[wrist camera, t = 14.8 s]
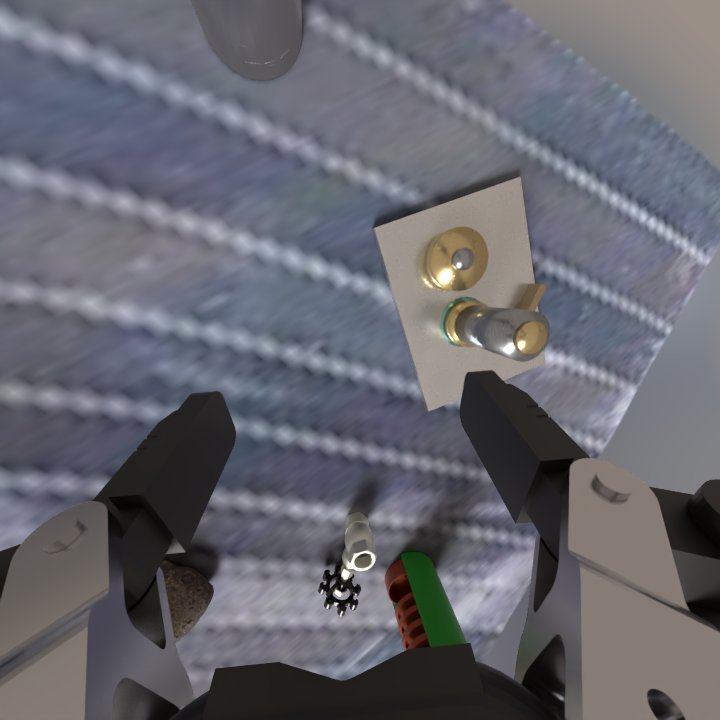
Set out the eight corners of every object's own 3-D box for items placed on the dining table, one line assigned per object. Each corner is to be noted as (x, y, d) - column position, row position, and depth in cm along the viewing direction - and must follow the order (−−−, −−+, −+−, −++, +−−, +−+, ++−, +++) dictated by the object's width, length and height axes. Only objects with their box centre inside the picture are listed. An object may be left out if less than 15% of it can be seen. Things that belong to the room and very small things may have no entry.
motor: (382, 558, 46) (435, 751, 27) (432, 545, 47) (516, 720, 28) (386, 601, 48) (437, 804, 29) (433, 587, 50) (511, 773, 31)
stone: (152, 566, 42) (158, 647, 38) (112, 577, 35) (113, 679, 31) (217, 535, 45) (230, 608, 40) (192, 539, 37) (204, 629, 33)
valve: (339, 507, 41) (317, 568, 44) (345, 546, 35) (318, 615, 37) (378, 512, 43) (355, 571, 45) (390, 551, 37) (363, 617, 39)
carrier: (371, 230, 32) (381, 221, 28) (513, 180, 34) (543, 164, 29) (425, 407, 40) (439, 422, 35) (538, 360, 41) (565, 369, 37)
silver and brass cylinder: (438, 309, 35) (498, 319, 24) (478, 294, 35) (556, 296, 24) (448, 350, 36) (509, 377, 25) (487, 335, 37) (563, 355, 26)
